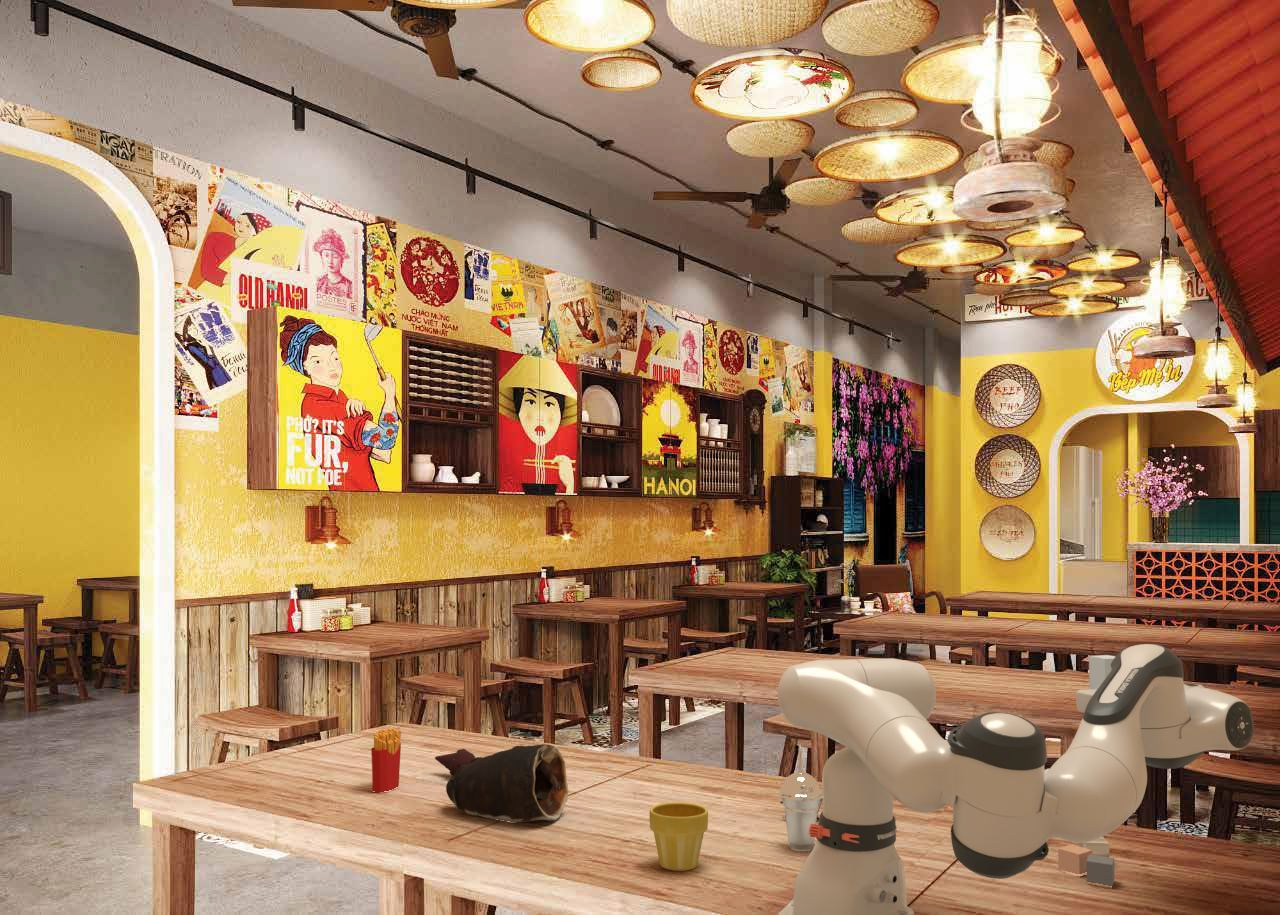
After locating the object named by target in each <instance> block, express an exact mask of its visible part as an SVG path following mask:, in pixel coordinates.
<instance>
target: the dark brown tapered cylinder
mask: <svg viewBox="0 0 1280 915" xmlns="http://www.w3.org/2000/svg"><path fill="white" fill-rule="evenodd" d="M482 757H483V758H481V759H478V760H476V761H474V762H473V763H471V764H469V765H462V766H461V767H460V768H459V769H458V770H457V772H456V774H455V775H454V776H453V777H452V776H451V777H450V778H449V779H448V781H447V783H446V786H445V791H446V795H447V796H448V799H449V800H450V801H451V802H452V803H453V805H454V806H455V807H456V808H457V809H458V810H459V811H462V812H464V813H466V814H467V813H469V814H473V815H472V816H477V815H478V817H479V816H480V817H483V818H487V819H489V818H492V819H491V820H493V819H498V820H504V821H510V822H518V823H523V822H524V823H525V822H532V821H549V822H550V821H556V820H558V819H559V818H560V817H561V815H562V812H563V810H564V808H565V807H566V803H567V801H568V797H569V785H568V779H567V771H566V770H567V768H566V760H565V759H564V757H563V755H562V753H561V752H560V750H559V749H558V748H557V747H555V746H554V744H549V743H548V744H545V743H544V744H535V745H515V746H514V747H512V748H510V749H506V750H501V751H498V752H495V753H493V754H490V755H486V756H482ZM469 814H468V815H469Z"/></svg>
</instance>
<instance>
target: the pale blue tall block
mask: <svg viewBox="0 0 1280 915" xmlns="http://www.w3.org/2000/svg"><path fill="white" fill-rule="evenodd" d="M1116 656H1117V655H1109V654H1103V655H1101V654H1100V655H1088V671H1089V672H1088V678H1089V679H1088V680H1089V689H1098V688H1099V687H1100V685H1101V684H1102V683H1103V681H1104V680H1105V678H1106V677H1107V676H1108V674H1109V673H1110V672H1111V670H1112V669H1111V662H1112V661H1113V659H1114V658H1115V657H1116Z"/></svg>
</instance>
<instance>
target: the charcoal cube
mask: <svg viewBox="0 0 1280 915" xmlns="http://www.w3.org/2000/svg"><path fill="white" fill-rule="evenodd" d="M1086 867H1087V875H1086V883H1087V882H1091V883H1098V884H1103V885H1108V886H1113V887H1114V885H1113V883H1114V884H1115V882H1114V879H1115V878H1116V877H1115V857H1110V856H1109V857H1103V856H1097V855H1090V854H1089V855H1088V858H1087V861H1086Z"/></svg>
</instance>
